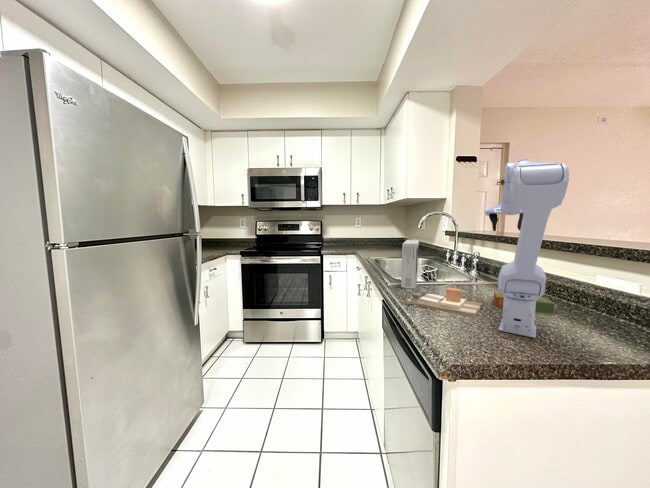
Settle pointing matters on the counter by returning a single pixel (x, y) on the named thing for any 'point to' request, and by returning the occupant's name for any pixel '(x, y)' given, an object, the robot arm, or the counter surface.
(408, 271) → the packaging
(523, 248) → the robot arm
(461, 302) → the tan block on base
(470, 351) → the counter surface
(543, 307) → the carton
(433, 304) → the board
